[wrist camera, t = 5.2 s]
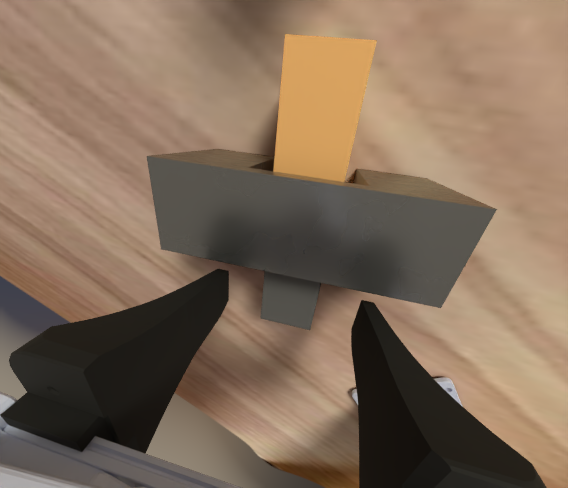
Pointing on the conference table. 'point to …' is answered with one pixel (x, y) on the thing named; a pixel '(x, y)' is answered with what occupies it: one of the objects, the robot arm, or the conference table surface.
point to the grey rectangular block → (317, 223)
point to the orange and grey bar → (314, 140)
